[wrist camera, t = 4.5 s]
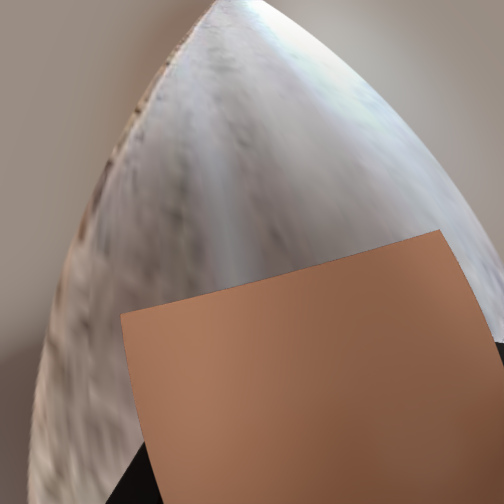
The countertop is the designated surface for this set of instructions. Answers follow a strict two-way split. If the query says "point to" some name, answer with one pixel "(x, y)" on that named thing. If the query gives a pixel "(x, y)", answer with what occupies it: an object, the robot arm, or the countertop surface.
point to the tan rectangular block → (325, 386)
